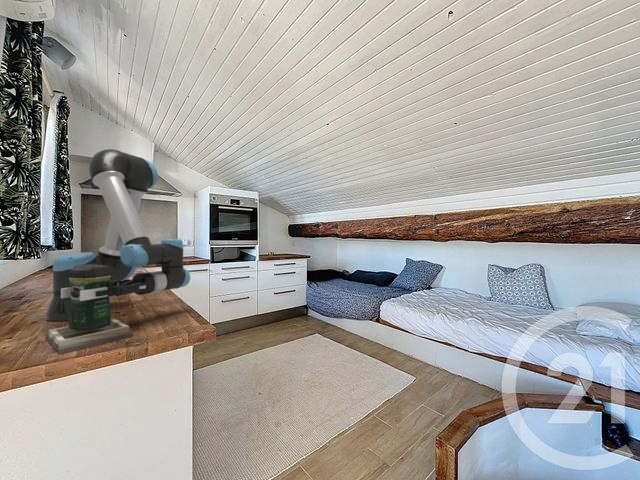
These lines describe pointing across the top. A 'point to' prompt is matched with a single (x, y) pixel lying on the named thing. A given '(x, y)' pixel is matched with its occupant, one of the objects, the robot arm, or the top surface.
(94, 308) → the coffee jar
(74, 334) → the board
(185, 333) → the top surface
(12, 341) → the top surface
